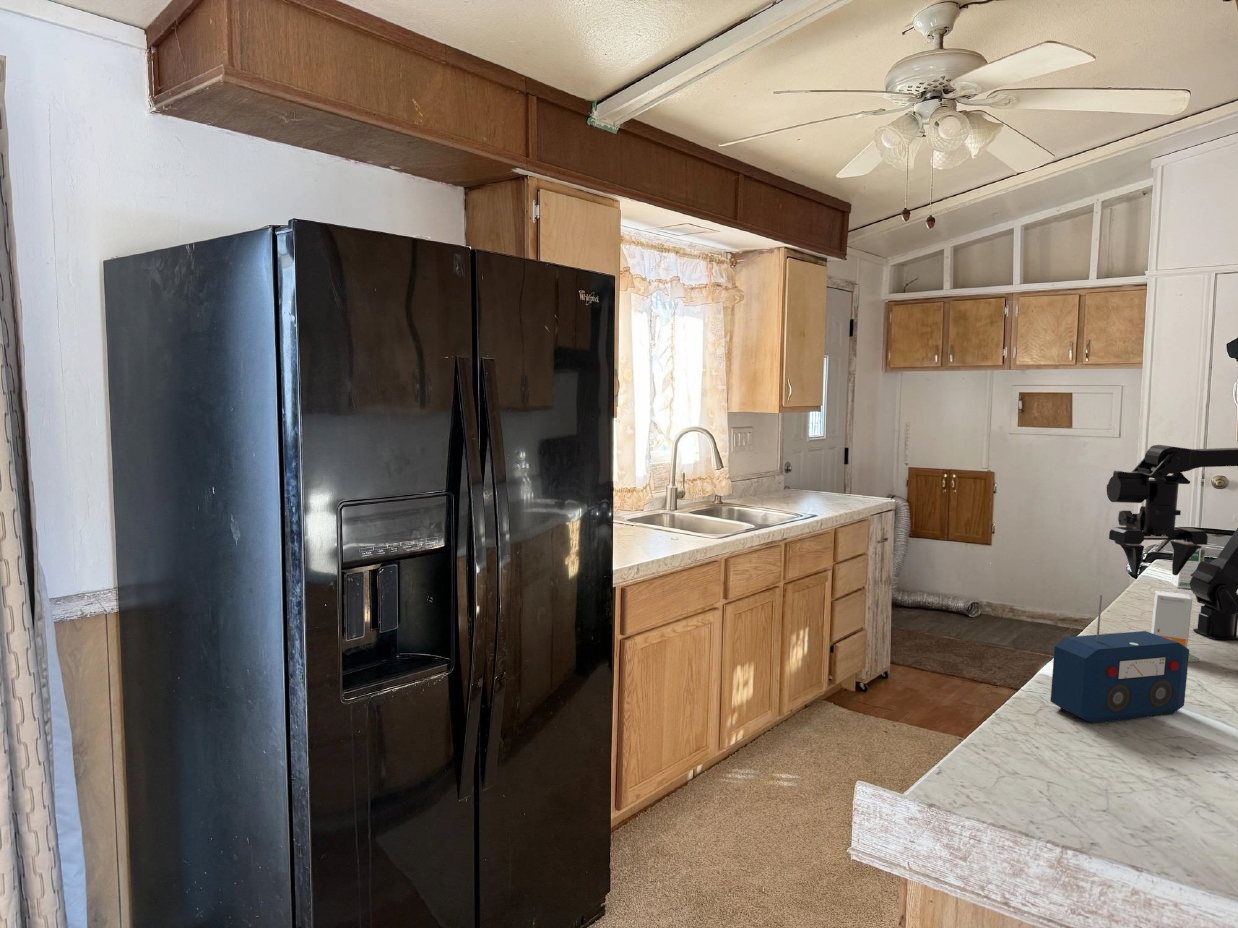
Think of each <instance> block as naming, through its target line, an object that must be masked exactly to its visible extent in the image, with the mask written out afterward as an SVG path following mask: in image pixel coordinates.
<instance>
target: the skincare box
mask: <svg viewBox="0 0 1238 928" xmlns="http://www.w3.org/2000/svg"><path fill="white" fill-rule="evenodd" d="M1192 598H1193V597H1192V596H1191V594H1187V593H1179V592H1172V591H1162V590H1161V591H1160V590H1155V591H1154V600H1153V608H1152V609H1153V610H1152V611H1153V612H1152V618H1151V619H1152V621H1151V630H1150V633H1152V634H1155V635H1158V636H1161V637H1164V638H1167V639H1170V640H1173V641H1176V642H1179V643H1180V644H1182V645H1183V646H1185V647H1186V648H1187V649H1188V645H1189V644H1188V643H1189V636H1190V635H1189V634H1190V627H1191V626H1190V625H1191V617H1192V608H1193V607H1192V606H1193V599H1192Z"/></svg>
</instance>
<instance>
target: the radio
mask: <svg viewBox="0 0 1238 928" xmlns="http://www.w3.org/2000/svg"><path fill="white" fill-rule="evenodd" d="M1102 603H1103V594H1099V604H1098V605H1099V606H1098V617H1097V627H1096V628H1097V630H1096V634H1090V635H1089V634H1088V635H1078V636H1077V635H1075V636H1066V637H1065V638H1064V639H1062V640H1060V642H1058V643H1056V644H1055V645H1054V648H1053V649H1054V651H1053V662H1052V674H1051V675H1052V676H1051V677H1052V678H1051V690H1050V702H1051V703H1052V704H1053V705H1056V706H1057V707H1059V708H1060V709H1062V710H1065V711H1066V712H1068V713H1070V714H1072V715H1074V716H1076V717H1078V718H1081V719H1083V720H1084V721H1086V722H1088V723H1090V724H1098V723H1099V724H1100V723H1107V722H1115V721H1116V722H1117V721H1125V720H1126V721H1127V720H1134V719H1143V718H1144V719H1145V718H1153V717H1154V718H1155V717H1162V716H1163V717H1164V716H1172V715H1174V714H1175V713H1176V712H1178V711H1179V710H1180V709H1182V708H1183V707H1184V706H1185V697H1186V689H1187V677H1188V667H1189V662H1188V658H1189V654H1190V649H1189V648H1188V647H1187V648H1186V647H1185V646H1183V645H1182V644H1180V643H1179V642H1176V641H1173V640H1170V639H1167V638H1164V637H1161V636H1158V635H1155V634H1152V633H1151V632H1149V631H1146V630H1142V631H1140V630H1139V631H1130V632H1129V631H1127V632H1116V633H1113V632H1112V633H1102V634H1100V627H1101V615H1102Z"/></svg>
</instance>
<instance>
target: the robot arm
mask: <svg viewBox="0 0 1238 928" xmlns="http://www.w3.org/2000/svg"><path fill="white" fill-rule="evenodd" d="M1213 467H1214V468H1215V467H1220V468H1221V467H1238V447H1224V448H1196V449H1195V448H1186V447H1179V446H1171V445H1166V444H1155V445H1151V446H1150V447H1149V448H1148V449H1147V451H1146V453H1145V455H1144V457H1143V458H1142V459H1141V461H1140V462H1139V463H1138V464H1137V465H1136V466H1135V468H1134V469H1133V470H1132V471H1122V470H1114V471H1113V472H1112V476H1111V477H1110V478H1109V481H1108V483H1107V484H1106V496H1107V498H1108V500H1109V501H1110V502H1111V503H1123V504H1124V503H1125V504H1127V503H1129V504H1142V503H1143V502H1145V503H1144V506H1143V505H1142V506H1140V507H1139V513H1133V512H1132V510H1120V511H1118V517H1117V521H1118V525H1119V526H1112V527H1111V529H1110V530H1109V534H1108V535H1109V536H1108V540H1111V541H1114V543H1115V544H1116V545H1120V547H1121V548H1122V550H1123V552H1124V553H1125V557H1126V559H1127V562H1128V565H1129V568H1130V572H1131V574H1132V575H1134V576H1138V573H1139V570H1140V568H1141V563H1142V559H1143V554H1144V549H1145V545H1143V544H1142V543H1143V542H1144V541H1153V540H1154V541H1170V542H1169V543H1170V544H1171V546H1172V549H1173V550H1174V551H1173V550H1172V551H1173V552H1172V553H1173V554H1172V562H1173V563H1171V564H1172V565H1171V575H1172V574H1173V575H1178V574H1179V572H1180V571H1181V569H1182V568H1183V567H1184V565H1185V564H1186V562H1187V561H1188V560H1189V558H1190V557H1191V556H1192V555H1193V554H1194V553H1195V551H1196V550H1197V549H1201V547H1202V546H1200V545H1205V546H1206V545H1208V540H1209V536H1208V533H1206V531H1205V530H1202V529H1201V530H1200V529H1197V528H1193V527H1176V518H1177V516H1181V513H1182V510H1180V509H1177V507H1178V505H1177V504H1178V496H1179V486H1180V485H1189V484H1191V481H1190V480H1189V479H1188V478H1187V477H1186V476H1185V475H1184V472H1185V473H1186V472H1189V471H1192V470H1195V469H1198V468H1213ZM1170 474H1171V475H1170ZM1174 540H1175V541H1174ZM1190 576H1192V578H1191V581H1190V587H1191V589H1190V590H1191V592H1192V594H1194V595H1195V599H1196V601H1197V603H1198V604H1202V605H1201V606H1200V612H1199V613H1198V618H1197V619H1198V620H1197V628H1193V632H1195V633H1197V634H1200V635H1202V636H1205V637H1207V638H1210V639H1212V640H1216V641H1217V640H1221V641H1223V640H1233V641H1234V640H1238V635H1237V634H1238V593H1237V592H1238V527H1237V528H1236V529H1235V531H1234V533H1233V534H1232V535H1231V537H1230V538H1229V539H1228V541H1227V543H1226V544H1225V545H1224V546H1223V548H1222V550H1221V551H1220V553H1219V554H1218V555H1217V557H1216V558H1215V559H1213V560H1211V561H1205V560H1204V561H1201V562H1200V563H1199V564H1198V567H1197V569H1196V570H1195V571H1194V572H1193V573H1192V574H1191V575H1190Z"/></svg>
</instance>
